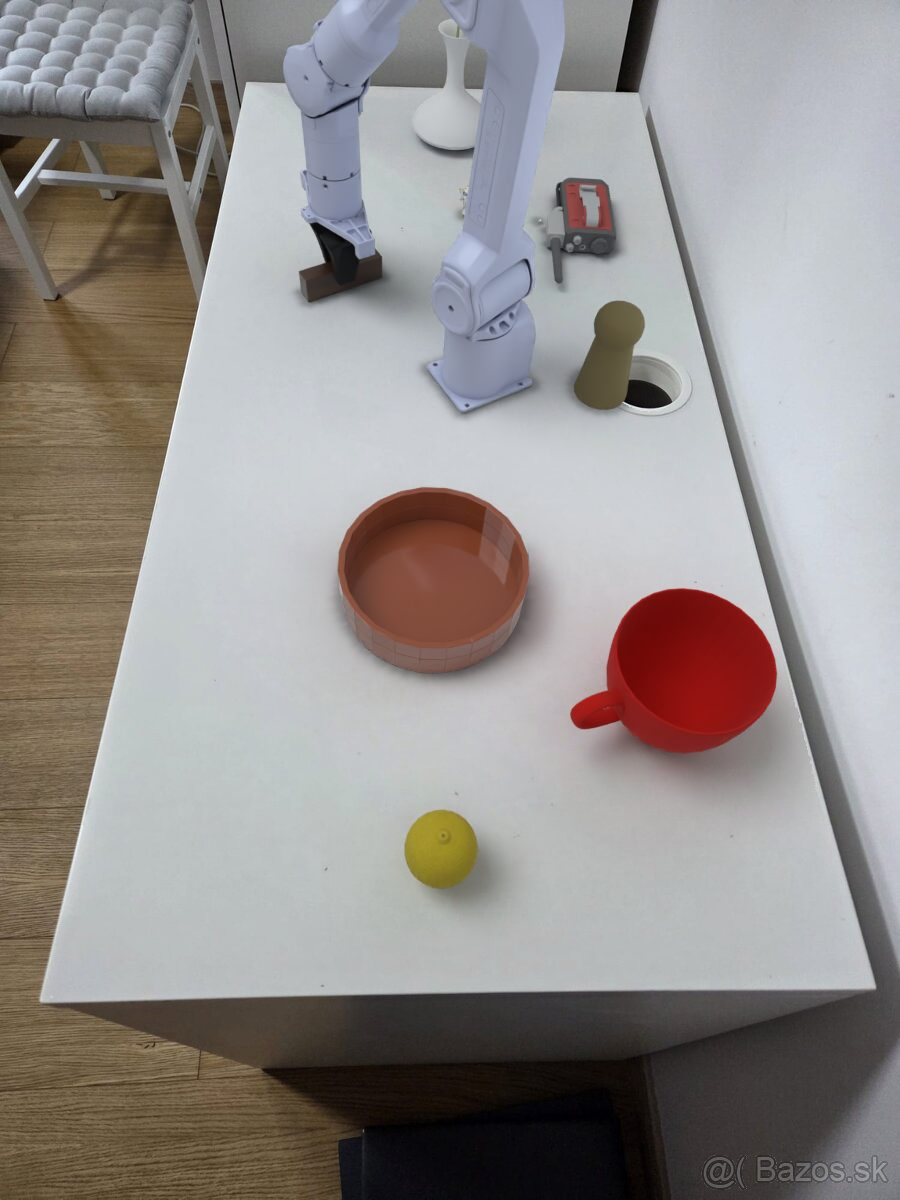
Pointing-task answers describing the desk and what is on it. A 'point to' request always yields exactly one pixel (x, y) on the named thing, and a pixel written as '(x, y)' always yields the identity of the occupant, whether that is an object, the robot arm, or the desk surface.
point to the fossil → (465, 197)
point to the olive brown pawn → (610, 356)
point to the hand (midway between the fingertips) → (341, 274)
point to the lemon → (441, 849)
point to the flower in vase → (450, 100)
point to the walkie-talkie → (580, 220)
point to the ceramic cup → (684, 673)
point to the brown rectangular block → (324, 282)
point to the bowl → (432, 579)
